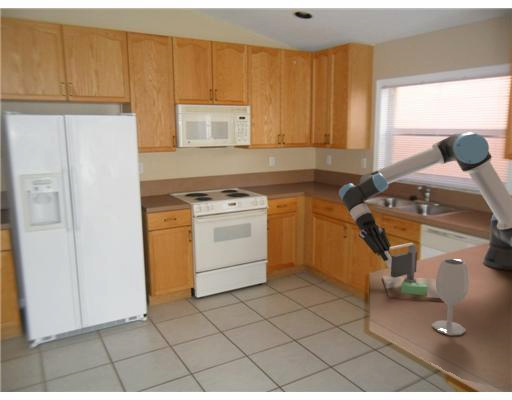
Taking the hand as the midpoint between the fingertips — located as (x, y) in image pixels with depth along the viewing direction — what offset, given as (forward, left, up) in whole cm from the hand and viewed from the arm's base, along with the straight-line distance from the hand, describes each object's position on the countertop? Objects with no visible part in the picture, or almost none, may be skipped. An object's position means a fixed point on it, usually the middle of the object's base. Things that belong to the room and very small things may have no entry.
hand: (392, 267), depth 157 cm
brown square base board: (-8, +2, -7) cm, 10 cm away
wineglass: (-22, +30, -7) cm, 38 cm away
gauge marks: (-6, +7, -6) cm, 11 cm away
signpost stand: (-4, +1, -5) cm, 7 cm away
